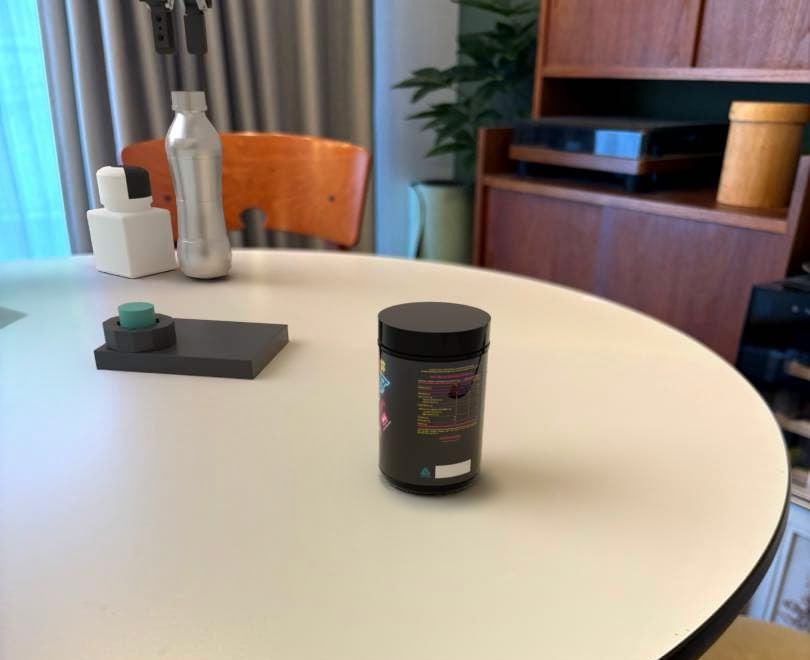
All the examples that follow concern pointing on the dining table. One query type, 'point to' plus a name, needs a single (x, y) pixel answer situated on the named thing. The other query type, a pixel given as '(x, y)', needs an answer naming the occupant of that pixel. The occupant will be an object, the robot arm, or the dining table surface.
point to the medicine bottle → (130, 225)
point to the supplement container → (432, 395)
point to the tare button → (137, 314)
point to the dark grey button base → (191, 347)
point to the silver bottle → (197, 188)
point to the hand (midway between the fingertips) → (183, 54)
